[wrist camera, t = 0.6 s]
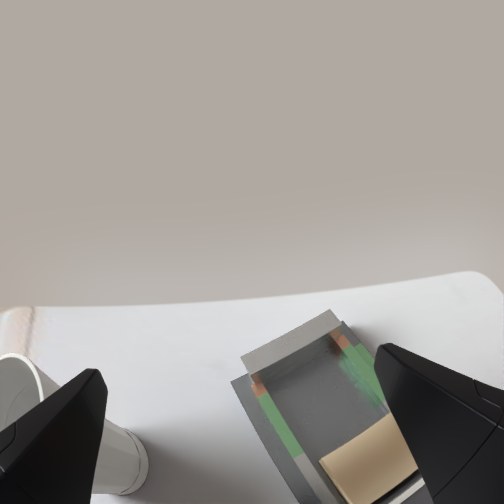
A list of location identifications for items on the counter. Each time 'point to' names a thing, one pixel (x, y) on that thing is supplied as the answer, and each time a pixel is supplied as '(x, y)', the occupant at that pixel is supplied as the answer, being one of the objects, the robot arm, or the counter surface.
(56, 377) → the counter surface
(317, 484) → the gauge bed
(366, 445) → the block
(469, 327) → the counter surface
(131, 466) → the cup
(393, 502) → the plunger
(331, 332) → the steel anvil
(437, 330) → the counter surface
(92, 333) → the counter surface
